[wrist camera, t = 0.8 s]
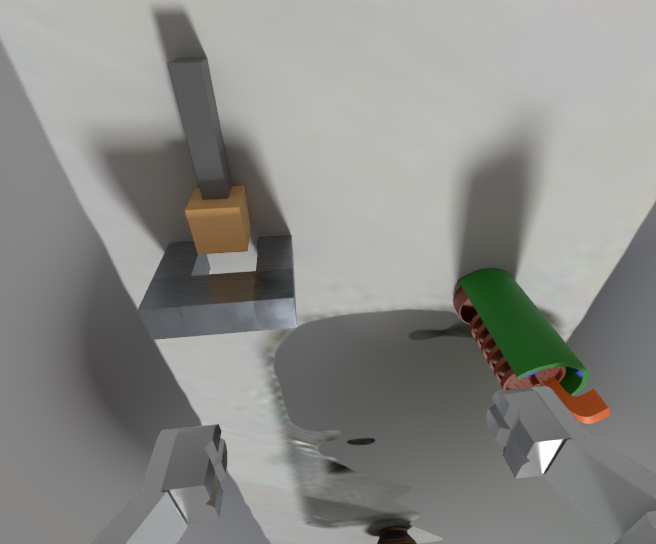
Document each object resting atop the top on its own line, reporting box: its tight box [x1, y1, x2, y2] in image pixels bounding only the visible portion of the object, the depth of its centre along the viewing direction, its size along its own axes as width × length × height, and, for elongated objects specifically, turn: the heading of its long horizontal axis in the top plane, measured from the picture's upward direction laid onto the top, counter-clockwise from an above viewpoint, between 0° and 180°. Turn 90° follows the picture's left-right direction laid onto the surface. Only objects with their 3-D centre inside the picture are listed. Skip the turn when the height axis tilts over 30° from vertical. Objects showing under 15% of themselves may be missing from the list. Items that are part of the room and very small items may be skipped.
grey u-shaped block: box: [138, 235, 297, 340], centre depth 37 cm, size 4×14×11 cm, turn 90°
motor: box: [453, 269, 610, 424], centre depth 42 cm, size 10×9×20 cm
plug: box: [167, 58, 251, 254], centre depth 32 cm, size 16×5×5 cm, turn 0°
